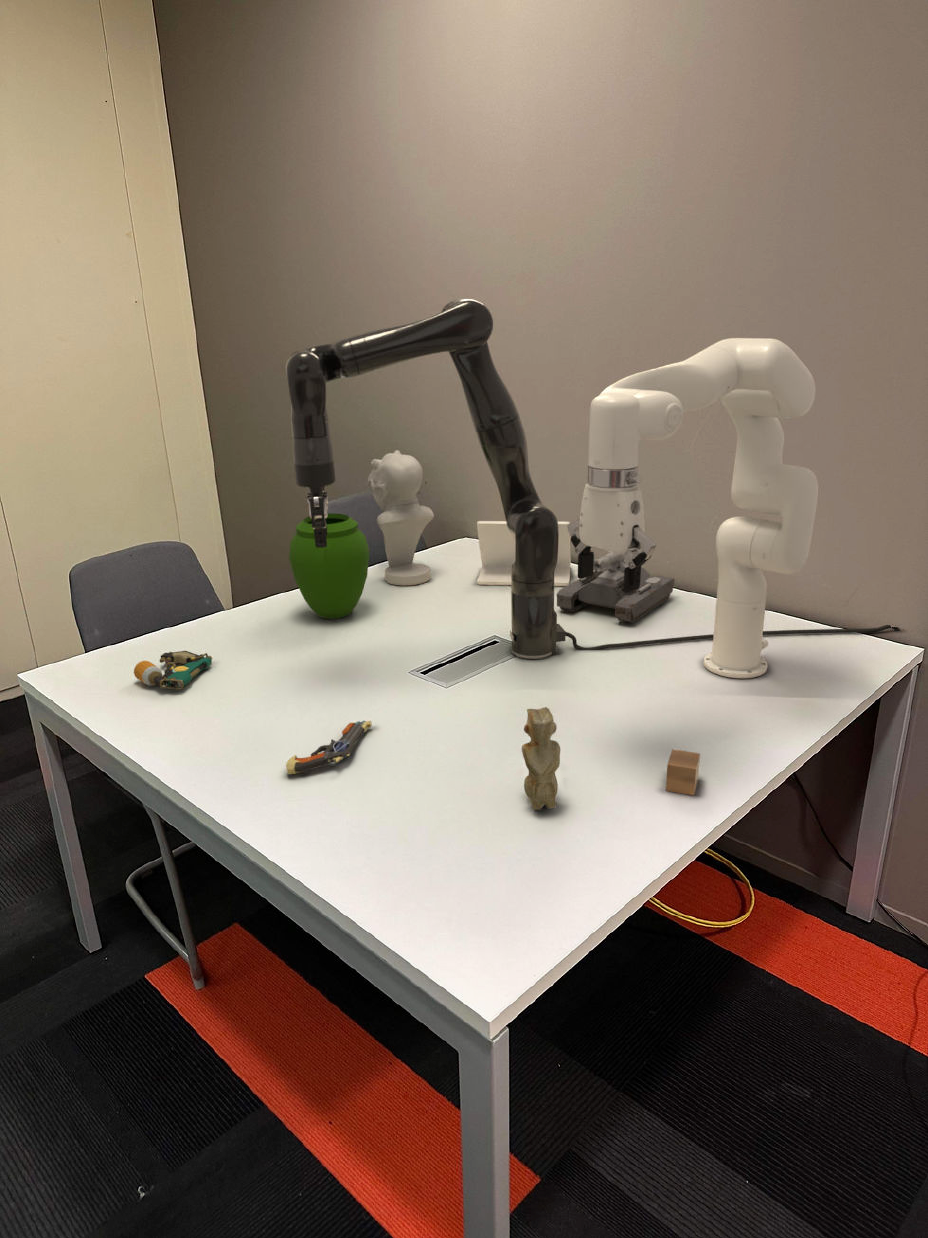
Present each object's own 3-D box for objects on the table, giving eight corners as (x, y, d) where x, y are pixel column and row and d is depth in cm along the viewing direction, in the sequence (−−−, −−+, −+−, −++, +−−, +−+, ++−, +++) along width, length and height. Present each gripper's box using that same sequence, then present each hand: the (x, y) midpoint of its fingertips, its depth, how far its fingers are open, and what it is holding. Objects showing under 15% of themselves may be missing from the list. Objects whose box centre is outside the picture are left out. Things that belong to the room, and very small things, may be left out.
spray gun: (177, 659, 191) (231, 671, 185) (120, 684, 176) (176, 698, 171) (176, 641, 190) (230, 653, 184) (118, 665, 175) (174, 678, 169)
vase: (389, 608, 216) (383, 514, 208) (339, 633, 201) (330, 533, 192) (330, 596, 226) (322, 506, 218) (278, 619, 211) (267, 523, 202)
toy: (603, 584, 229) (605, 530, 224) (673, 597, 218) (677, 540, 213) (555, 612, 210) (556, 553, 205) (630, 627, 199) (633, 566, 194)
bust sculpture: (408, 559, 256) (402, 442, 244) (444, 580, 236) (440, 453, 224) (358, 568, 250) (349, 447, 237) (391, 590, 230) (383, 460, 217)
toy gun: (281, 764, 140) (338, 761, 138) (320, 718, 158) (372, 715, 156) (284, 779, 141) (341, 777, 139) (323, 732, 159) (374, 729, 156)
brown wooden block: (670, 774, 139) (672, 749, 137) (698, 779, 137) (700, 753, 135) (665, 790, 134) (667, 764, 132) (693, 795, 133) (696, 769, 131)
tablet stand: (569, 585, 229) (570, 524, 223) (476, 584, 232) (475, 523, 226) (570, 566, 246) (571, 508, 240) (484, 564, 249) (483, 507, 243)
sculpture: (556, 787, 135) (557, 702, 130) (563, 813, 129) (564, 724, 123) (519, 789, 135) (519, 704, 130) (524, 815, 129) (524, 726, 123)
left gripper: (333, 465, 157) (341, 549, 163) (333, 452, 170) (340, 531, 176) (292, 467, 156) (301, 552, 162) (295, 454, 169) (304, 533, 175)
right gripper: (673, 482, 128) (666, 590, 133) (586, 467, 140) (583, 567, 146) (641, 489, 123) (635, 601, 129) (554, 473, 136) (552, 576, 141)
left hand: (321, 541), depth 169 cm, fingers open, 8 cm apart
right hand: (607, 583), depth 137 cm, fingers open, 9 cm apart
